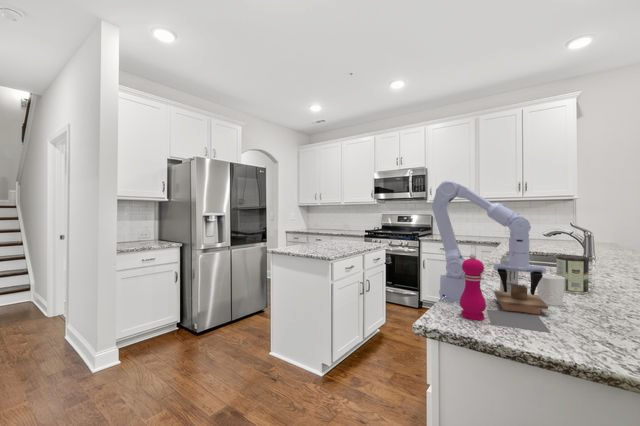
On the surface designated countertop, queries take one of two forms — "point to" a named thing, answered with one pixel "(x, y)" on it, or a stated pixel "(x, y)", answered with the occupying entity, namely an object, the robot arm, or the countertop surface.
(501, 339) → the countertop surface
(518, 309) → the dish
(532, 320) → the mat
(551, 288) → the white cup
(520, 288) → the lid
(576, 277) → the coffee can
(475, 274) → the pepper mill
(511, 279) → the energy drink can
